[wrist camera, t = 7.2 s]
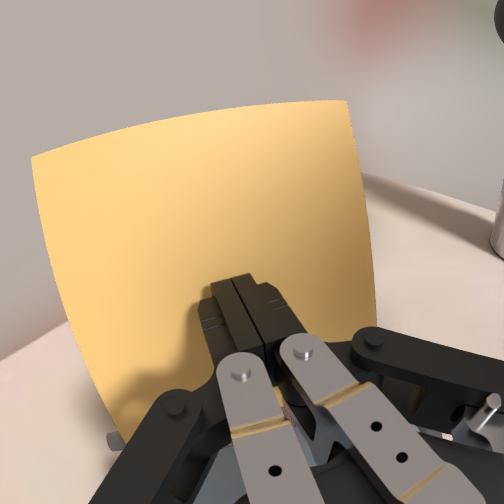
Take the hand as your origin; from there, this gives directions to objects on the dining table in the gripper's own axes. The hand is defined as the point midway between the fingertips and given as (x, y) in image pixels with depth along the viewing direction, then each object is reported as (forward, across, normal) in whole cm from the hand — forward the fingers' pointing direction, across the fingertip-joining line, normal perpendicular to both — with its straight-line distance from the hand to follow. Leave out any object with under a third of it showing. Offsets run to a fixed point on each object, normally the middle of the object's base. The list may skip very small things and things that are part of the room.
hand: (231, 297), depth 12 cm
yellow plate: (-1, 0, +6) cm, 6 cm away
